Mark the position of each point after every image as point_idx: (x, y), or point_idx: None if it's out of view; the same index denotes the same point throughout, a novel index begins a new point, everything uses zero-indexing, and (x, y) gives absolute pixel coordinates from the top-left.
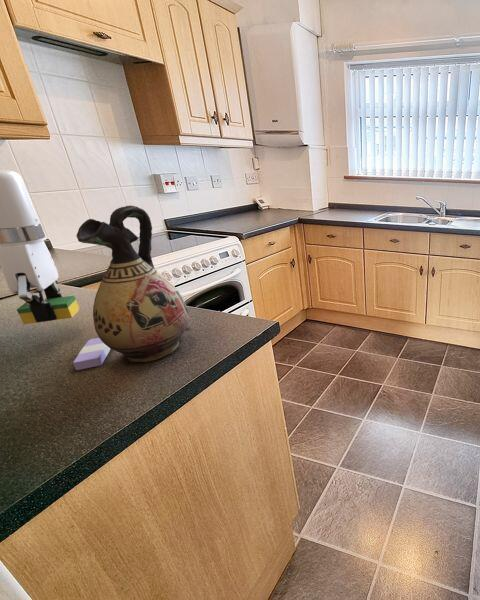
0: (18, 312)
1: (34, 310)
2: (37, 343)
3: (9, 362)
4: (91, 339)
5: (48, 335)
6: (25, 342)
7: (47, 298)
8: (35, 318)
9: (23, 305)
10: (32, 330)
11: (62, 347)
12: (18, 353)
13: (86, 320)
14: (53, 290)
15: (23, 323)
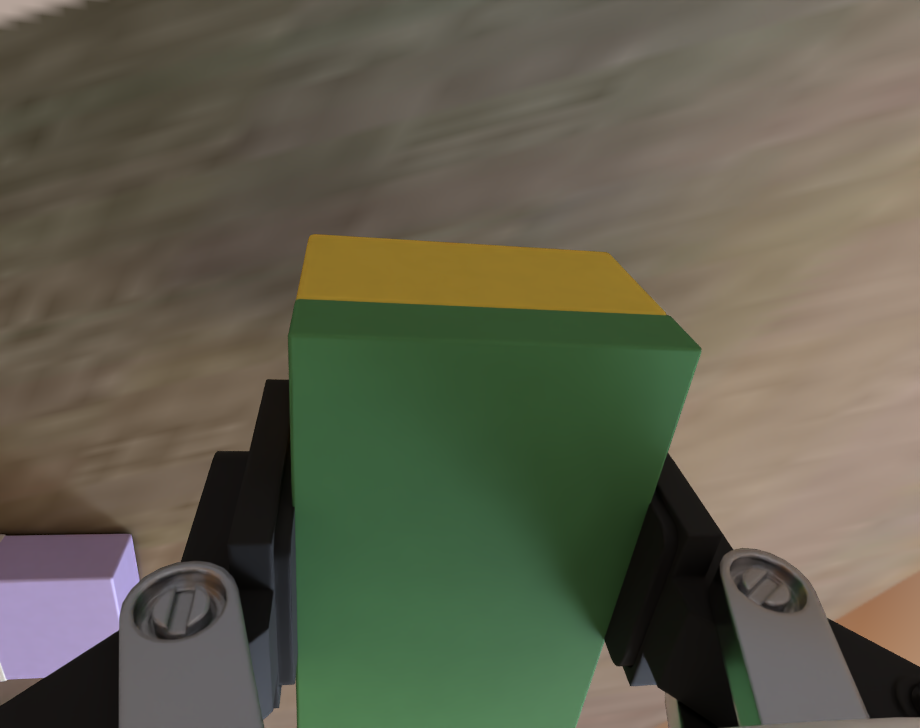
0: (295, 315)
1: (192, 533)
2: (406, 156)
3: (49, 33)
4: (101, 594)
5: (549, 198)
6: (496, 41)
7: (635, 549)
8: (264, 405)
9: (478, 365)
10: (788, 20)
11: (210, 363)
12: (241, 54)
13: (698, 392)
14: (692, 698)
15: (308, 241)
